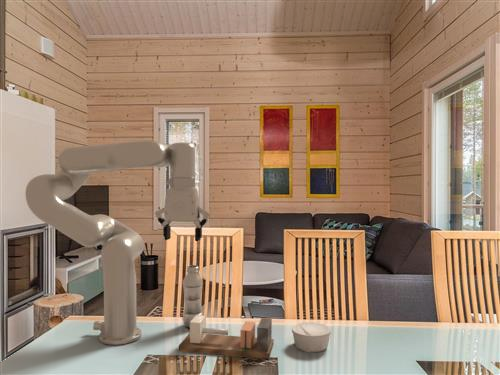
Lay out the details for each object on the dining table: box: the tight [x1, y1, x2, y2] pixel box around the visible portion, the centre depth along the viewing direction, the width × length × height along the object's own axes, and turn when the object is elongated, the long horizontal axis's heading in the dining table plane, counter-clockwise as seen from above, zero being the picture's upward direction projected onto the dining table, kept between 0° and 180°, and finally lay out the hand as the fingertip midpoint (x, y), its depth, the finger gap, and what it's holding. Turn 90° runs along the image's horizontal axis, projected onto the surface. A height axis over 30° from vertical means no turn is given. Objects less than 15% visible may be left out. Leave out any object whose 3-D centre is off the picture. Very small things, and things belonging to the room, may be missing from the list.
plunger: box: [189, 315, 230, 343], centre depth 122 cm, size 10×6×6 cm, turn 80°
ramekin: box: [291, 321, 332, 353], centre depth 122 cm, size 11×11×5 cm
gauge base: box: [178, 317, 275, 360], centre depth 121 cm, size 26×10×8 cm, turn 80°
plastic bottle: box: [182, 264, 204, 328], centre depth 137 cm, size 6×7×20 cm
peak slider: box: [239, 320, 256, 350], centre depth 119 cm, size 3×8×5 cm, turn 170°
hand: (182, 239), depth 127 cm, fingers open, 9 cm apart
